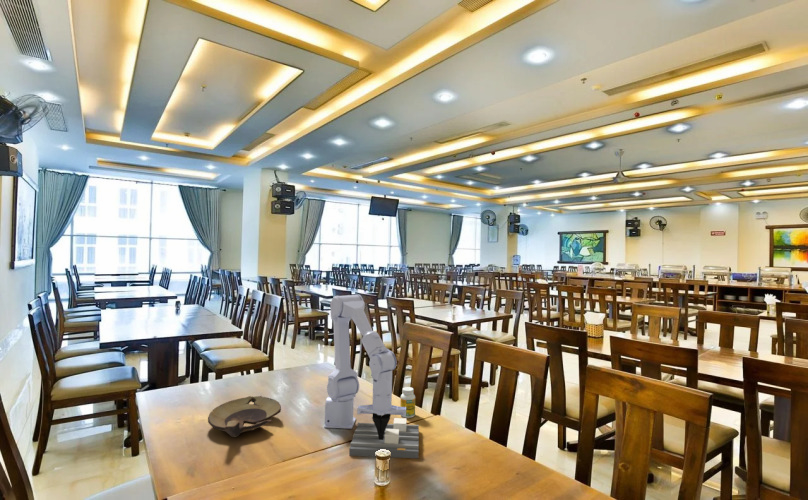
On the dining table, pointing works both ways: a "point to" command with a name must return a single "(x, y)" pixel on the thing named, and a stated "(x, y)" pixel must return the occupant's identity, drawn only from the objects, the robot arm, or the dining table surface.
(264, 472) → the dining table surface
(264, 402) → the grey shallow oval dish
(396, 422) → the far switch tab
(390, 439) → the near switch tab
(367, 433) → the switch board
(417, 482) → the dining table surface
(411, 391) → the supplement bottle
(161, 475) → the dining table surface
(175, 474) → the dining table surface
